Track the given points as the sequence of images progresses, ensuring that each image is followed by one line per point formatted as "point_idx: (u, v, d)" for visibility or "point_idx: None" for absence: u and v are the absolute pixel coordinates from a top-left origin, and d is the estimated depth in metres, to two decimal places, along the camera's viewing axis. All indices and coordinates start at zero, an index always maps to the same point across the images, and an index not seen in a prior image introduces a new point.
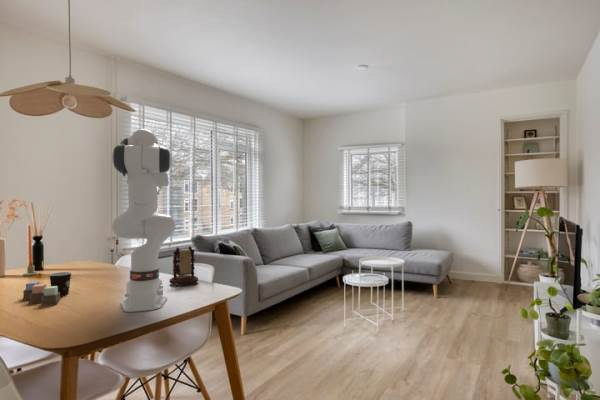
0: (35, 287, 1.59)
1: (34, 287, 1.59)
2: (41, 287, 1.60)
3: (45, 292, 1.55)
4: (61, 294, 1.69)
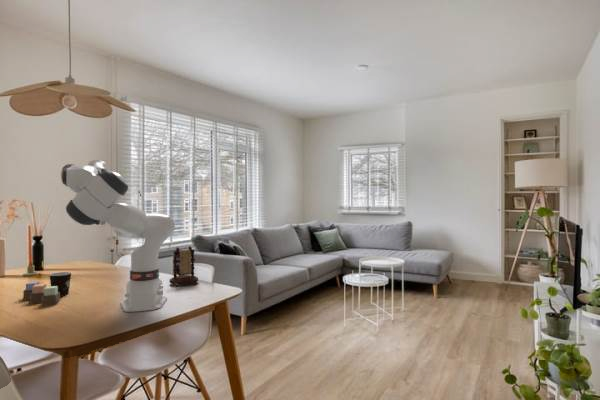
0: (35, 287, 1.59)
1: (34, 287, 1.59)
2: (41, 287, 1.60)
3: (45, 292, 1.55)
4: (61, 294, 1.69)
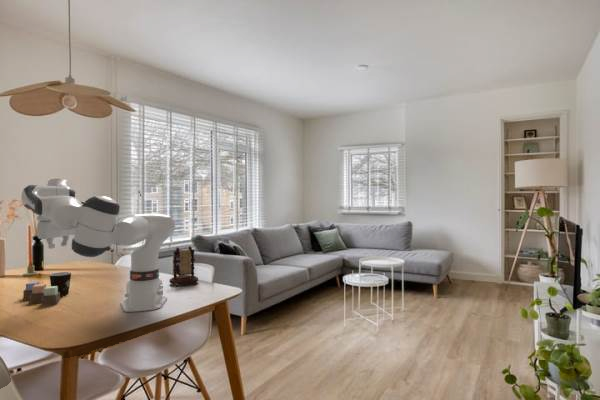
0: (35, 287, 1.59)
1: (34, 287, 1.59)
2: (41, 287, 1.60)
3: (45, 292, 1.55)
4: (61, 294, 1.69)
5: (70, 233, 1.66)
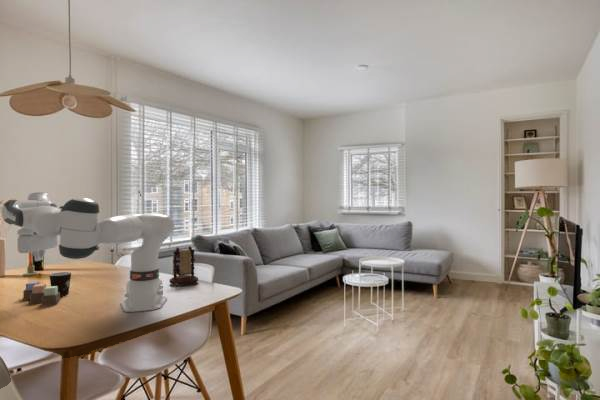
0: (35, 287, 1.59)
1: (34, 287, 1.59)
2: (41, 287, 1.60)
3: (45, 292, 1.55)
4: (61, 294, 1.69)
5: (51, 246, 1.67)
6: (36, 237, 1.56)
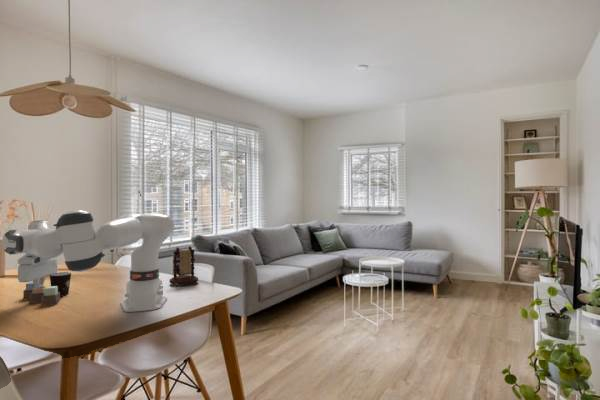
0: (35, 290, 1.59)
1: (34, 290, 1.59)
2: (41, 290, 1.60)
3: (45, 292, 1.55)
4: (61, 294, 1.69)
5: (51, 273, 1.67)
6: (36, 265, 1.56)
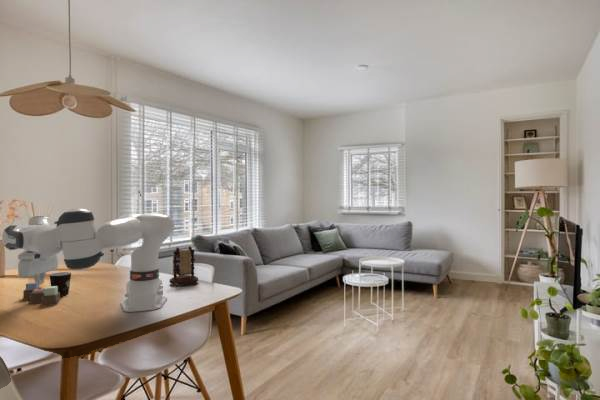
0: (35, 292, 1.59)
1: (34, 292, 1.59)
2: (41, 292, 1.60)
3: (45, 292, 1.55)
4: (61, 294, 1.69)
5: (52, 268, 1.67)
6: (37, 261, 1.56)
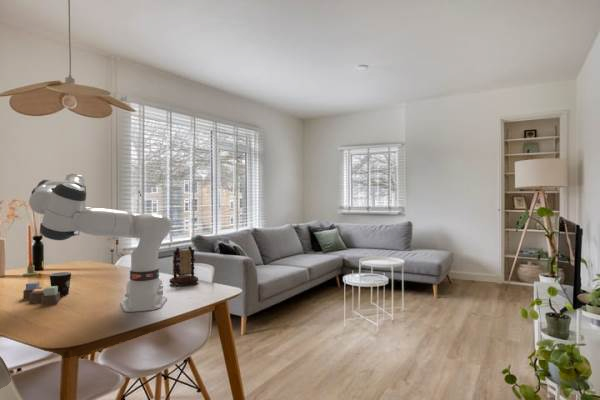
0: (35, 292, 1.59)
1: (34, 292, 1.59)
2: (41, 292, 1.60)
3: (45, 292, 1.55)
4: (61, 294, 1.69)
5: None
6: None
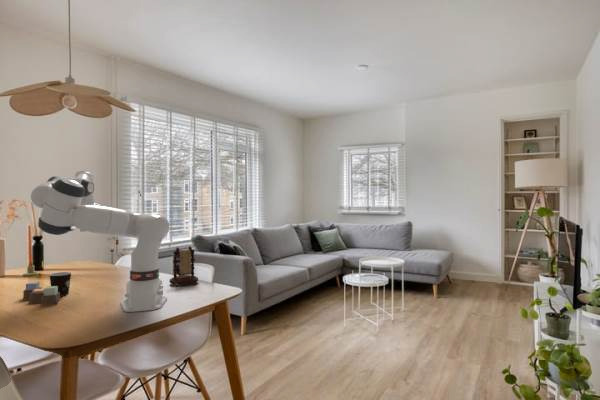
0: (35, 292, 1.59)
1: (34, 292, 1.59)
2: (41, 292, 1.60)
3: (45, 292, 1.55)
4: (61, 294, 1.69)
5: None
6: None
